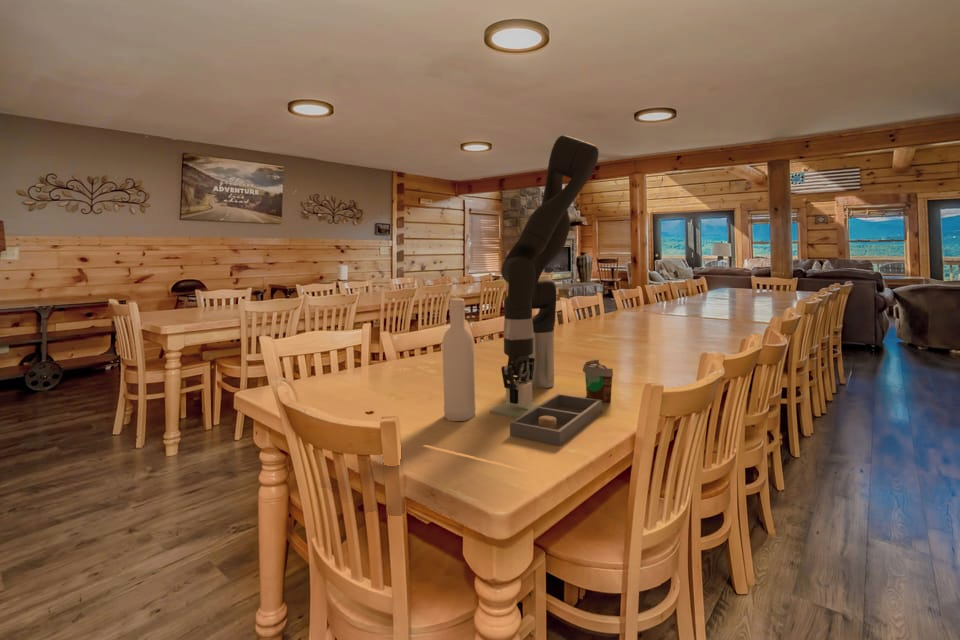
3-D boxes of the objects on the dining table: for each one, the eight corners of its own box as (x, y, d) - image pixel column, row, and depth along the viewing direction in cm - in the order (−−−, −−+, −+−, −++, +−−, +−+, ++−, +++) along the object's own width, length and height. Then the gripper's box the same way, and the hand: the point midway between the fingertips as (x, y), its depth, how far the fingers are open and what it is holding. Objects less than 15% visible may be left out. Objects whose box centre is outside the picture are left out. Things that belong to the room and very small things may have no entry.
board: (489, 414, 126) (489, 410, 126) (510, 403, 135) (510, 399, 135) (527, 421, 120) (527, 417, 120) (547, 409, 129) (547, 405, 129)
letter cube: (506, 403, 126) (505, 384, 126) (515, 398, 131) (515, 379, 130) (523, 406, 124) (523, 386, 123) (532, 401, 128) (532, 382, 127)
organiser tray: (510, 437, 110) (509, 422, 109) (558, 406, 131) (558, 393, 131) (559, 447, 103) (559, 431, 103) (601, 413, 125) (601, 400, 124)
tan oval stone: (535, 432, 111) (535, 419, 111) (543, 427, 115) (543, 414, 114) (551, 435, 109) (551, 422, 109) (559, 430, 112) (559, 417, 112)
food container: (577, 393, 143) (577, 360, 142) (597, 392, 143) (598, 359, 142) (590, 406, 131) (590, 369, 129) (612, 405, 131) (613, 368, 130)
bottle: (481, 418, 123) (479, 298, 119) (454, 424, 119) (450, 301, 115) (465, 409, 130) (462, 297, 126) (438, 415, 126) (435, 298, 122)
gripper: (518, 330, 133) (519, 392, 135) (491, 338, 121) (492, 405, 123) (544, 332, 129) (544, 395, 131) (518, 341, 117) (518, 410, 119)
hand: (519, 400), depth 127 cm, fingers closed on letter cube, 4 cm apart
